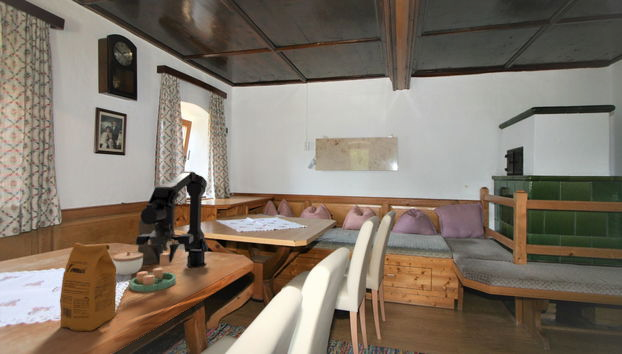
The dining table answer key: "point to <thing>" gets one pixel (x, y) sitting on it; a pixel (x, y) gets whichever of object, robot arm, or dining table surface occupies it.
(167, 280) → the ring tray
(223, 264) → the dining table surface
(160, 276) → the bead
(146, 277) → the bead
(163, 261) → the bead
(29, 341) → the dining table surface
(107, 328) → the dining table surface
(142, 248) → the beer stein
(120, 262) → the lidded jar
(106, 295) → the coffee package
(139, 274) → the bead
